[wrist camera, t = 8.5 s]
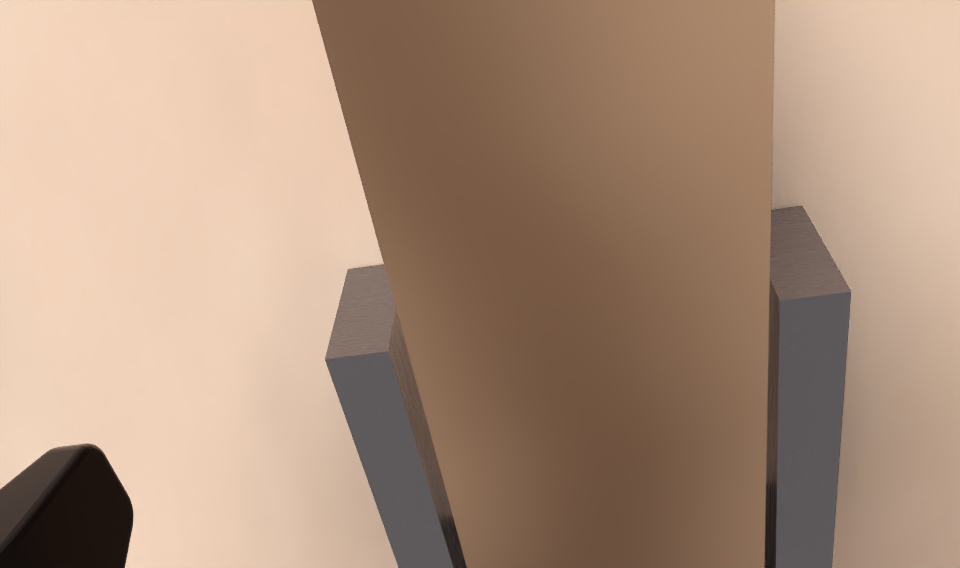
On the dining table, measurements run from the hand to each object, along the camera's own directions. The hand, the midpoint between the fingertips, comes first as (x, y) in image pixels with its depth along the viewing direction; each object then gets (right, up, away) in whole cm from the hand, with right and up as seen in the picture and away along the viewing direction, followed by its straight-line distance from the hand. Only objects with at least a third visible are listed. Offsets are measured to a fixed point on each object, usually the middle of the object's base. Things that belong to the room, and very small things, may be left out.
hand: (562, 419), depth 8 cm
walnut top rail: (+1, +3, +10) cm, 10 cm away
